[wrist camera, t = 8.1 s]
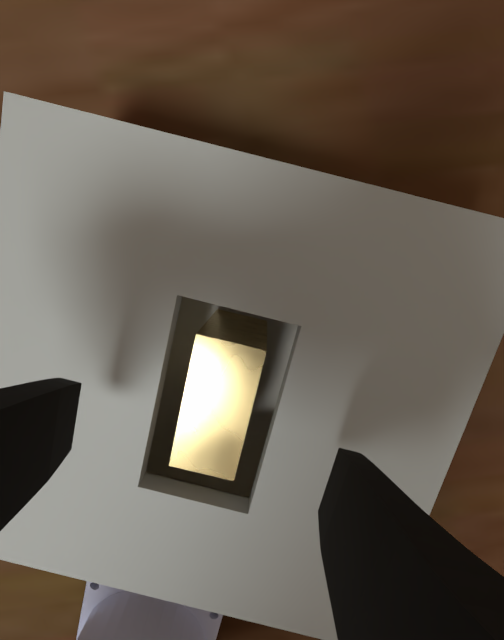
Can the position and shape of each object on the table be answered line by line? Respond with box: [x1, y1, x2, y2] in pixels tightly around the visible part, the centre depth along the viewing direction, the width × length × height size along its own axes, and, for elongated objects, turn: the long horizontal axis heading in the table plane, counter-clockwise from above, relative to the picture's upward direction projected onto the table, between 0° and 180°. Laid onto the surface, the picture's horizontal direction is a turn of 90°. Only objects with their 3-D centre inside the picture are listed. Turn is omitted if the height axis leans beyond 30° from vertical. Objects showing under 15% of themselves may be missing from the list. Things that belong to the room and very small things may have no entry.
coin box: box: [0, 91, 504, 640], centre depth 15 cm, size 16×16×6 cm
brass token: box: [169, 309, 267, 481], centre depth 14 cm, size 5×2×5 cm, turn 167°
